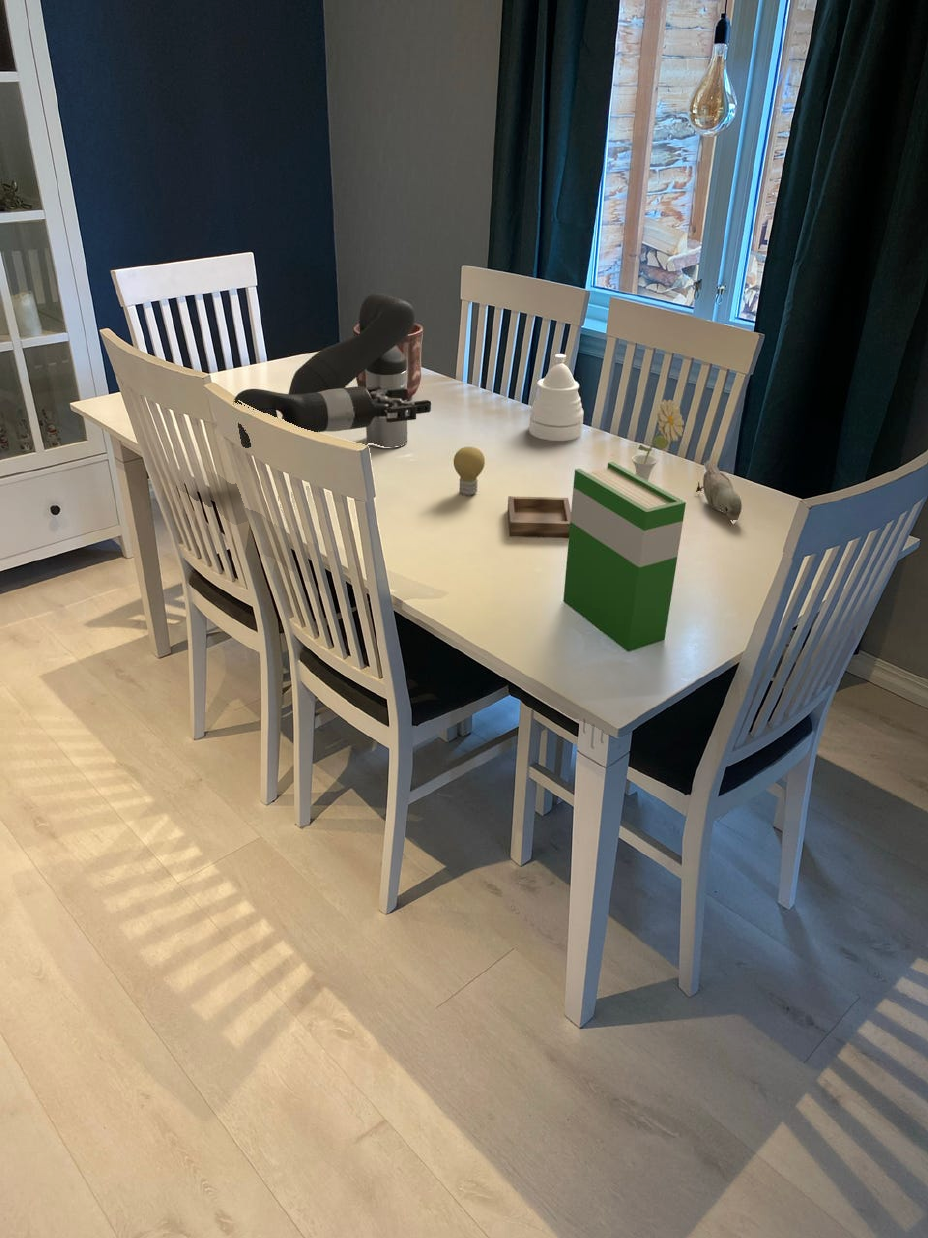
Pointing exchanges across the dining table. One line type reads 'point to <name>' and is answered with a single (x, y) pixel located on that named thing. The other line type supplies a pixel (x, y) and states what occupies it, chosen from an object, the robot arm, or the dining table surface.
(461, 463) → the light bulb
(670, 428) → the flower in vase
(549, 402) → the honey pot
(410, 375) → the pottery
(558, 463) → the dining table surface
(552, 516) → the walnut tray
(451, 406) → the dining table surface
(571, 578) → the hardback book
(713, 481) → the decorative bird
